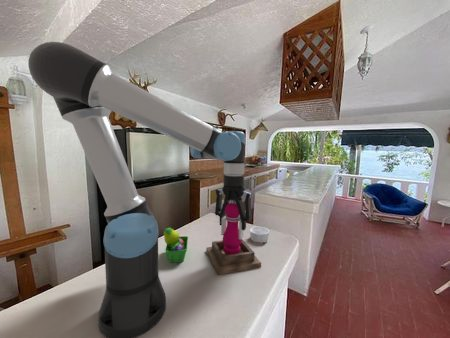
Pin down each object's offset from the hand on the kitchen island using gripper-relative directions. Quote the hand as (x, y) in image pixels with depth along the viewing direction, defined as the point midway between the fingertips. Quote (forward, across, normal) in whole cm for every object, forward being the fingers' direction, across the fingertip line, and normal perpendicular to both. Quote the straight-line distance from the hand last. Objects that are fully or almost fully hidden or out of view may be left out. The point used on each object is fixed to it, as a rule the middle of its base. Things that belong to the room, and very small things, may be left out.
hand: (232, 235), depth 74 cm
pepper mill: (+6, 0, 0) cm, 6 cm away
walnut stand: (+9, 0, 0) cm, 9 cm away
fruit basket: (+9, +20, +8) cm, 23 cm away
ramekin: (+9, -4, -21) cm, 24 cm away
